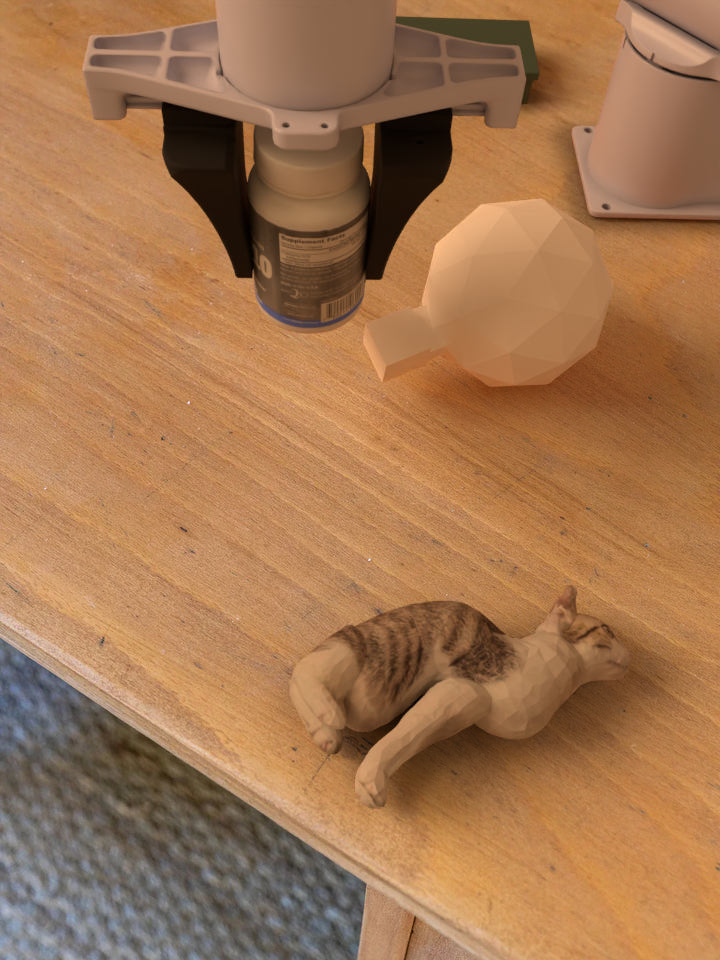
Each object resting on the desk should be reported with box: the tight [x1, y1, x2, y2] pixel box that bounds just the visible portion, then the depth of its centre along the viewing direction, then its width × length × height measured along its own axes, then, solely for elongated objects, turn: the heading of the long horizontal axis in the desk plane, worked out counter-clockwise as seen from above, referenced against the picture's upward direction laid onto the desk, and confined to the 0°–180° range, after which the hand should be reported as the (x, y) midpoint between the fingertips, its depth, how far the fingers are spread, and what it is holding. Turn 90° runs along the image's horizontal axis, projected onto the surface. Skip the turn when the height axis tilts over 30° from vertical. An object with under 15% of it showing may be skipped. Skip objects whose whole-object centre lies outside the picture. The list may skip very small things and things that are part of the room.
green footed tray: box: [396, 15, 540, 104], centre depth 61 cm, size 10×6×2 cm, turn 91°
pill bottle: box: [247, 125, 371, 335], centre depth 37 cm, size 5×5×8 cm
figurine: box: [287, 584, 633, 810], centre depth 36 cm, size 4×16×15 cm
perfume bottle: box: [362, 198, 615, 388], centre depth 45 cm, size 9×9×12 cm
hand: (308, 262), depth 39 cm, fingers closed on pill bottle, 5 cm apart
